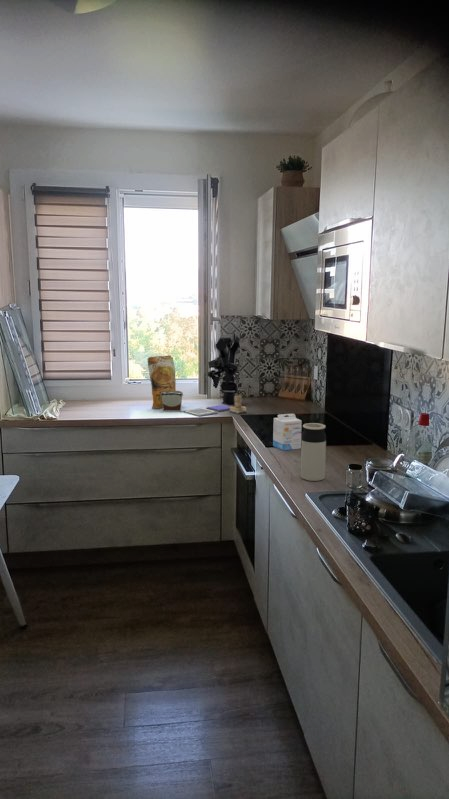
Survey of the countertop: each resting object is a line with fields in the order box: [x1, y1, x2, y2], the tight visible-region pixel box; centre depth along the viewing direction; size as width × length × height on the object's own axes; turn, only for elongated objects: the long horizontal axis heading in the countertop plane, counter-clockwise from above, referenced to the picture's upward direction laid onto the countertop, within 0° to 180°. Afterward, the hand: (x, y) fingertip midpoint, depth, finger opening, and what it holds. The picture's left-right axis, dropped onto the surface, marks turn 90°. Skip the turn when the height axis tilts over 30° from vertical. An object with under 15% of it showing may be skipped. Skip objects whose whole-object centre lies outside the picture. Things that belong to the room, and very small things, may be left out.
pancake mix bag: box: [147, 354, 177, 409], centre depth 302 cm, size 7×19×28 cm, turn 132°
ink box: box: [272, 413, 303, 451], centre depth 220 cm, size 9×8×13 cm
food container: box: [160, 390, 184, 412], centre depth 295 cm, size 12×6×10 cm, turn 84°
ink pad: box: [205, 404, 231, 413], centre depth 296 cm, size 11×11×1 cm
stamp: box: [229, 395, 247, 415], centre depth 288 cm, size 6×6×9 cm
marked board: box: [181, 407, 219, 417], centre depth 288 cm, size 12×15×1 cm
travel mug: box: [300, 422, 327, 482], centre depth 182 cm, size 8×8×18 cm
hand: (221, 386), depth 285 cm, fingers open, 9 cm apart
